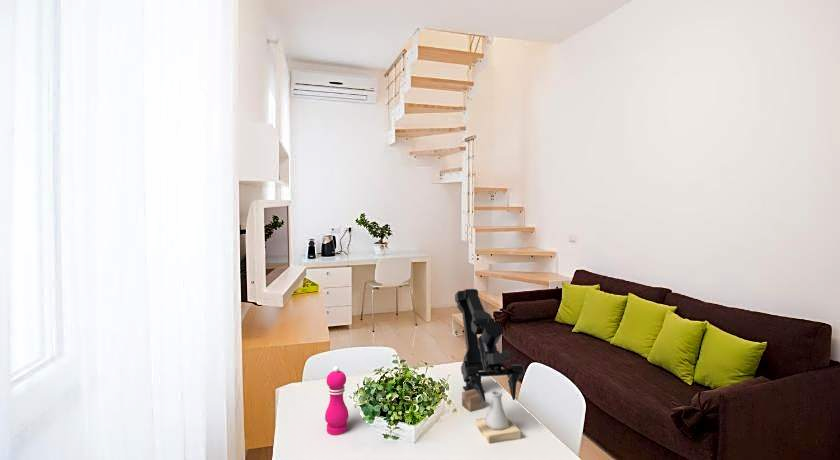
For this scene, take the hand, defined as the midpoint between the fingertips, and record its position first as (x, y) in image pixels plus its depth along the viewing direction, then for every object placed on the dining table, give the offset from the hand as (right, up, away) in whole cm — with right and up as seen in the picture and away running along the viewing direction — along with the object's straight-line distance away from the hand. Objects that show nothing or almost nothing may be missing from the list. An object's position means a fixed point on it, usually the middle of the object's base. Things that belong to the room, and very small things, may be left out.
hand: (499, 400), depth 123 cm
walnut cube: (-6, -10, +18) cm, 21 cm away
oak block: (0, -11, +2) cm, 11 cm away
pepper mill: (-50, -11, +4) cm, 51 cm away
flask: (0, -8, +2) cm, 9 cm away
